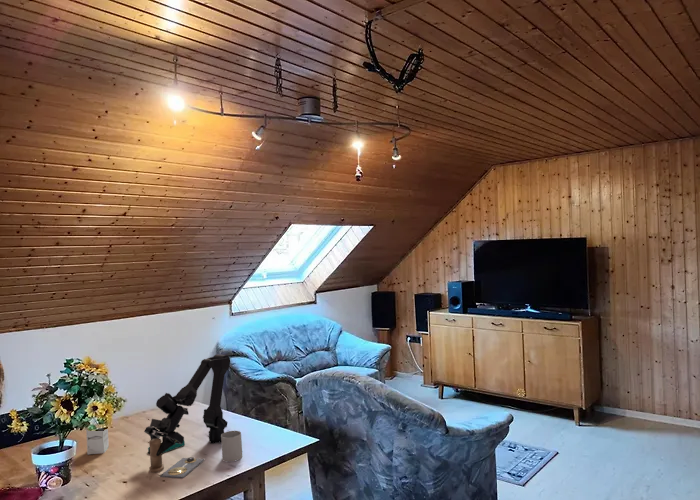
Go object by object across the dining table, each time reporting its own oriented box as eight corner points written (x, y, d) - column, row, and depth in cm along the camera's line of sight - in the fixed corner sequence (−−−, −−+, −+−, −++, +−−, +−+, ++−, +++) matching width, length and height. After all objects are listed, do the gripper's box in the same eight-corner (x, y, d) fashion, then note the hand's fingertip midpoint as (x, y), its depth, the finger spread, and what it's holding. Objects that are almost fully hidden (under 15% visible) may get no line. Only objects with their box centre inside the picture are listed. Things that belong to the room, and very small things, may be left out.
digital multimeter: (186, 446, 242) (185, 439, 242) (155, 456, 231) (155, 450, 231) (177, 442, 247) (177, 436, 247) (147, 453, 236) (147, 446, 236)
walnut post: (164, 465, 220) (162, 437, 220) (163, 471, 215) (162, 441, 215) (149, 468, 218) (148, 439, 218) (148, 473, 213) (147, 443, 213)
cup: (224, 463, 220) (223, 439, 219) (220, 456, 227) (218, 433, 227) (244, 458, 223) (243, 435, 223) (239, 452, 231) (238, 429, 231)
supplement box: (86, 455, 236) (85, 427, 236) (92, 449, 243) (90, 421, 243) (104, 453, 237) (102, 425, 237) (109, 447, 244) (107, 420, 244)
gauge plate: (183, 459, 226) (182, 455, 226) (204, 460, 224) (204, 456, 224) (160, 476, 209) (159, 472, 209) (182, 478, 207) (182, 474, 207)
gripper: (146, 407, 224) (125, 442, 215) (176, 412, 215) (155, 449, 206) (162, 419, 231) (142, 454, 222) (192, 425, 222) (173, 462, 212)
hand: (153, 454), depth 215 cm, fingers closed on walnut post, 4 cm apart
